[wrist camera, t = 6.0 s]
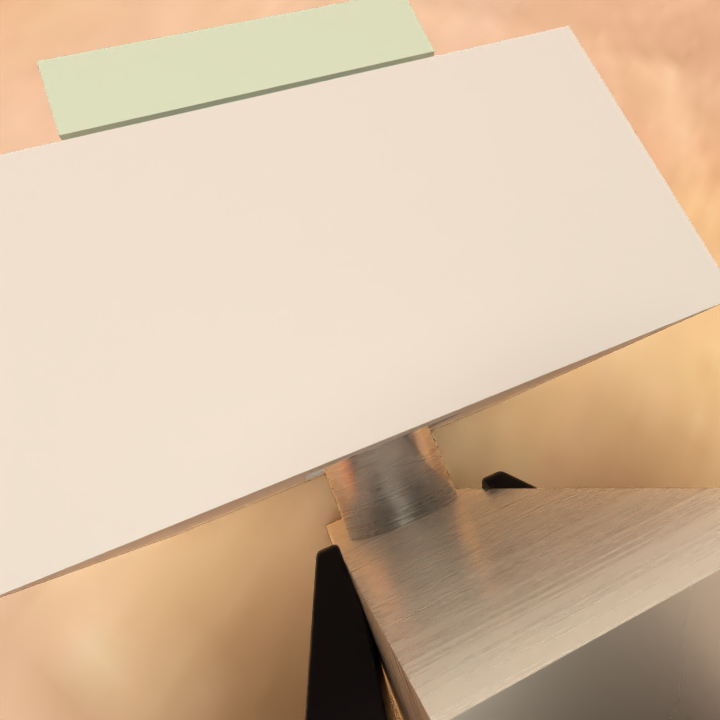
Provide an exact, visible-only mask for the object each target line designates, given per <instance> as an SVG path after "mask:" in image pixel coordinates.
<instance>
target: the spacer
mask: <svg viewBox="0 0 720 720" xmlns="http://www.w3.org/2000/svg"><path fill="white" fill-rule="evenodd" d="M434 52H435V51H434V49H433V47H432V45H431V43H430V41H429V39H428V38H427V36H426V34H425V32H424V30H423V28H422V26H421V24H420V23H419V21H418V19H417V17H416V15H415V13H414V11H413V9H412V7H411V6H410V4H409V2H408V0H352V1H347V2H342V3H337V4H331V5H326V6H321V7H316V8H311V9H305V10H300V11H295V12H290V13H285V14H279V15H274V16H269V17H264V18H259V19H253V20H248V21H243V22H238V23H232V24H227V25H222V26H217V27H212V28H206V29H201V30H196V31H191V32H186V33H180V34H175V35H170V36H165V37H160V38H154V39H149V40H144V41H139V42H134V43H128V44H123V45H118V46H113V47H108V48H102V49H97V50H92V51H87V52H82V53H76V54H71V55H66V56H61V57H56V58H50V59H45V60H40V61H37V63H38V67H39V70H40V73H41V77H42V80H43V83H44V87H45V90H46V94H47V97H48V100H49V104H50V107H51V111H52V114H53V117H54V121H55V124H56V127H57V131H58V134H59V136H60V138H61V139H62V140H67V139H71V138H76V137H80V136H84V135H89V134H93V133H98V132H102V131H106V130H111V129H115V128H120V127H124V126H128V125H133V124H137V123H142V122H146V121H150V120H155V119H159V118H164V117H168V116H172V115H177V114H181V113H186V112H190V111H195V110H199V109H203V108H208V107H212V106H217V105H221V104H225V103H230V102H234V101H239V100H243V99H247V98H252V97H256V96H261V95H265V94H269V93H274V92H278V91H283V90H287V89H291V88H296V87H300V86H305V85H309V84H314V83H318V82H322V81H327V80H331V79H336V78H340V77H344V76H349V75H353V74H358V73H362V72H366V71H371V70H375V69H380V68H384V67H388V66H393V65H397V64H402V63H406V62H410V61H415V60H419V59H424V58H428V57H432V56H433V55H434Z"/></svg>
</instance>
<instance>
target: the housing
mask: <svg viewBox="0 0 720 720" xmlns="http://www.w3.org/2000/svg"><path fill="white" fill-rule="evenodd" d="M719 304H720V269H719V267H718V265H717V264H716V262H715V261H714V259H713V257H712V256H711V254H710V252H709V251H708V249H707V248H706V246H705V244H704V243H703V241H702V240H701V238H700V236H699V235H698V233H697V231H696V230H695V228H694V227H693V225H692V223H691V222H690V220H689V219H688V217H687V215H686V214H685V212H684V211H683V209H682V207H681V206H680V204H679V202H678V201H677V199H676V198H675V196H674V194H673V193H672V191H671V190H670V188H669V186H668V185H667V183H666V181H665V180H664V178H663V177H662V175H661V173H660V172H659V170H658V169H657V167H656V165H655V164H654V162H653V161H652V159H651V157H650V156H649V154H648V152H647V151H646V149H645V148H644V146H643V144H642V143H641V141H640V140H639V138H638V136H637V135H636V133H635V132H634V130H633V128H632V127H631V125H630V123H629V122H628V120H627V119H626V117H625V115H624V114H623V112H622V111H621V109H620V107H619V106H618V104H617V102H616V101H615V99H614V98H613V96H612V94H611V93H610V91H609V90H608V88H607V86H606V85H605V83H604V82H603V80H602V78H601V77H600V75H599V73H598V72H597V70H596V69H595V67H594V65H593V64H592V62H591V61H590V59H589V57H588V56H587V54H586V52H585V51H584V49H583V48H582V46H581V44H580V43H579V41H578V40H577V38H576V36H575V35H574V33H573V32H572V30H571V28H570V27H569V26H565V27H560V28H556V29H551V30H547V31H543V32H538V33H534V34H529V35H525V36H521V37H516V38H512V39H507V40H503V41H499V42H494V43H490V44H485V45H481V46H477V47H472V48H468V49H463V50H459V51H455V52H450V53H446V54H441V55H437V56H432V57H428V58H424V59H419V60H415V61H410V62H406V63H402V64H397V65H393V66H388V67H384V68H380V69H375V70H371V71H366V72H362V73H358V74H353V75H349V76H344V77H340V78H336V79H331V80H327V81H322V82H318V83H314V84H309V85H305V86H300V87H296V88H291V89H287V90H283V91H278V92H274V93H269V94H265V95H261V96H256V97H252V98H247V99H243V100H239V101H234V102H230V103H225V104H221V105H217V106H212V107H208V108H203V109H199V110H195V111H190V112H186V113H181V114H177V115H172V116H168V117H164V118H159V119H155V120H150V121H146V122H142V123H137V124H133V125H128V126H124V127H120V128H115V129H111V130H106V131H102V132H98V133H93V134H89V135H84V136H80V137H76V138H71V139H67V140H62V141H58V142H54V143H49V144H45V145H40V146H36V147H31V148H27V149H23V150H18V151H14V152H9V153H5V154H1V155H0V598H1V597H3V596H6V595H9V594H12V593H15V592H18V591H20V590H23V589H26V588H29V587H32V586H34V585H37V584H40V583H43V582H46V581H48V580H51V579H54V578H57V577H60V576H62V575H65V574H68V573H71V572H74V571H77V570H79V569H82V568H85V567H88V566H91V565H93V564H96V563H99V562H102V561H105V560H107V559H110V558H113V557H116V556H119V555H121V554H124V553H127V552H130V551H133V550H136V549H138V548H141V547H144V546H147V545H150V544H152V543H155V542H158V541H161V540H164V539H166V538H169V537H172V536H175V535H177V534H180V533H182V532H184V531H187V530H189V529H192V528H194V527H197V526H199V525H202V524H204V523H206V522H209V521H211V520H214V519H216V518H219V517H221V516H223V515H226V514H228V513H231V512H233V511H236V510H238V509H241V508H243V507H245V506H248V505H250V504H253V503H255V502H258V501H260V500H263V499H265V498H267V497H270V496H272V495H275V494H277V493H280V492H282V491H285V490H287V489H289V488H292V487H294V486H297V485H299V484H302V483H304V482H306V481H309V480H311V479H314V478H316V477H319V476H321V475H324V474H326V473H325V471H324V468H325V467H328V466H330V465H333V464H335V463H338V462H340V461H342V460H345V459H347V458H350V457H352V456H355V455H357V454H360V453H362V452H365V451H367V450H369V449H372V448H374V447H377V446H379V445H382V444H384V443H387V442H389V441H392V440H394V439H397V438H399V437H401V436H404V435H406V434H409V433H411V432H414V431H416V430H419V429H421V428H424V427H426V426H428V428H429V430H430V431H431V430H433V429H436V428H438V427H441V426H443V425H446V424H448V423H451V422H453V421H455V420H458V419H460V418H463V417H465V416H468V415H470V414H473V413H475V412H477V411H480V410H482V409H485V408H487V407H490V406H492V405H494V404H497V403H499V402H502V401H504V400H506V399H509V398H511V397H513V396H515V395H518V394H520V393H522V392H524V391H527V390H529V389H531V388H533V387H536V386H538V385H540V384H542V383H544V382H547V381H549V380H551V379H553V378H556V377H558V376H560V375H562V374H565V373H567V372H569V371H571V370H574V369H576V368H578V367H580V366H583V365H585V364H587V363H589V362H592V361H594V360H596V359H598V358H601V357H603V356H605V355H607V354H610V353H612V352H614V351H616V350H619V349H621V348H623V347H625V346H627V345H630V344H632V343H634V342H636V341H639V340H641V339H643V338H645V337H648V336H650V335H652V334H654V333H657V332H659V331H661V330H663V329H666V328H668V327H670V326H672V325H675V324H677V323H679V322H681V321H684V320H686V319H688V318H690V317H693V316H695V315H697V314H699V313H702V312H704V311H706V310H708V309H711V308H713V307H715V306H717V305H719Z"/></svg>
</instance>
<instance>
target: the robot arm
mask: <svg viewBox="0 0 720 720" xmlns="http://www.w3.org/2000/svg"><path fill="white" fill-rule="evenodd" d="M533 488H536V487H534V486H532V485H530V484H528V483H526V482H524V481H522V480H520V479H517V478H515V477H513V476H511V475H509V474H507V473H505V472H496V473H494V474H491V475H489V476H487V477H485V478H483V480H482V489H533ZM305 720H396V718H395V714H394V710H393V706H392V702H391V698H390V694H389V691H388V687H387V683H386V679H385V675H384V671H383V668H382V664H381V661H380V658H379V655H378V652H377V649H376V646H375V643H374V640H373V637H372V634H371V631H370V628H369V625H368V622H367V619H366V616H365V613H364V610H363V607H362V605H361V602H360V600H359V597H358V595H357V592H356V590H355V587H354V585H353V582H352V580H351V577H350V574H349V572H348V569H347V567H346V564H345V562H344V559H343V555H342V553H341V550H340V548H339V546H338V545H336V544H334V545H331V546H329V547H327V548H325V549H322V550H320V551H319V552H318V553H317V556H316V568H315V582H314V596H313V610H312V625H311V639H310V653H309V667H308V682H307V696H306V710H305Z"/></svg>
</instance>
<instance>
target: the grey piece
mask: <svg viewBox="0 0 720 720" xmlns="http://www.w3.org/2000/svg"><path fill="white" fill-rule="evenodd" d="M324 471H325V473H326V476H327V479H328V481H329V484H330V487H331V489H332V492H333V495H334V497H335V500H336V503H337V505H338V508H339V511H340V513H341V516H342V519H339V520H337V521H335V522H333V523H330V524H328V525H326V528H327V531H328V534H329V536H330V539H331V542H332V545H334V544H336V545H338V546H339V548H340V550H341V553H342V555H343V559H344V562H345V564H346V567H347V569H348V572H349V574H350V577H351V580H352V582H353V585H354V587H355V590H356V592H357V595H358V597H359V600H360V602H361V605H362V607H363V610H364V613H365V616H366V619H367V622H368V625H369V628H370V631H371V634H372V637H373V640H374V643H375V646H376V649H377V652H378V655H379V658H380V661H381V664H382V668H383V671H384V675H385V679H386V683H387V687H388V689H389V691H390V694H391V696H392V699H393V701H394V703H395V706H396V708H397V711H398V713H399V716H400V718H401V720H720V488H533V489H455V488H454V486H453V484H452V481H451V479H450V477H449V474H448V472H447V470H446V467H445V465H444V463H443V460H442V458H441V456H440V453H439V451H438V449H437V447H436V444H435V442H434V440H433V437H432V435H431V433H430V430H429V428H428V426H426V427H424V428H421V429H419V430H416V431H414V432H411V433H409V434H406V435H404V436H401V437H399V438H397V439H394V440H392V441H389V442H387V443H384V444H382V445H379V446H377V447H374V448H372V449H369V450H367V451H365V452H362V453H360V454H357V455H355V456H352V457H350V458H347V459H345V460H342V461H340V462H338V463H335V464H333V465H330V466H328V467H325V468H324Z"/></svg>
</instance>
